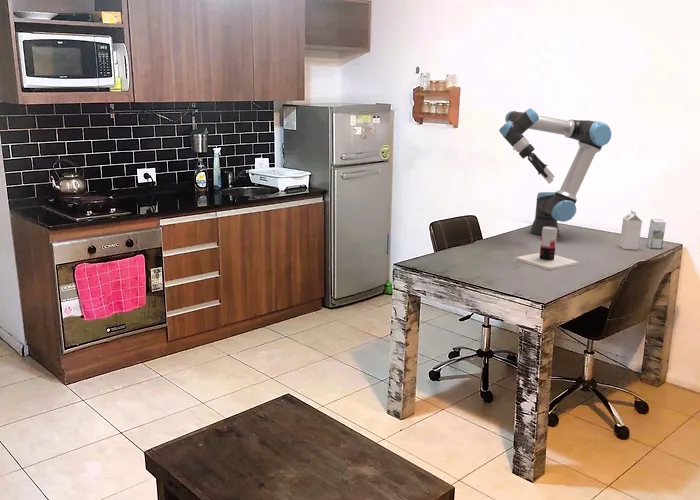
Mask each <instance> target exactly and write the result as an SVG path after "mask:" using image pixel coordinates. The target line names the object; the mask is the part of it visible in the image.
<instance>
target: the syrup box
mask: <svg viewBox="0 0 700 500" xmlns="http://www.w3.org/2000/svg"><path fill="white" fill-rule="evenodd" d="M666 224H667V222H666V220H664V219H662V218H661V219H660V218H657V219H656V218H650V221H649V228H648V234H647V242H646V247H648V248H650V249H657V250H658V249H660V250H662V249H663V243H664V236H665V230H666Z"/></svg>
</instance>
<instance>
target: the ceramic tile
mask: <svg viewBox="0 0 700 500" xmlns="http://www.w3.org/2000/svg"><path fill="white" fill-rule="evenodd" d="M539 257H540V252H534V253H530V254H525V255H521V256H520V255H519V256H516V257H515V261H518V262H522V263H526V264H527V265H532V266H534V267H538V268H541V269H544V270H547V271H554V270H558V269H563V268H568V267H572V266H577V265H579V261H578V260H574V259H570V258H567V257H564V256H560V255H557V254H555V255H554V260H553V261H544V260H541V259H540V258H539Z"/></svg>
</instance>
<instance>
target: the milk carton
mask: <svg viewBox="0 0 700 500" xmlns="http://www.w3.org/2000/svg"><path fill="white" fill-rule="evenodd" d="M642 223H643V220H642V219H641V218H639V216H637V212H636V211H633V210H632V209H631V210H630V212H629V213H627V214H626V215H625V216H623V218H622V224H621V229H620V230H621V233H620V240H619V247H620V248H621V249H623V250H632V251H633V250H639V245H640V239H641V230H642Z"/></svg>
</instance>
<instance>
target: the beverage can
mask: <svg viewBox="0 0 700 500" xmlns="http://www.w3.org/2000/svg"><path fill="white" fill-rule="evenodd" d="M557 236H558V235H557V228H555V227H543V229H542V236H541V241H540V251H539V253H540V257H539V258H540V259H541V260H544V261H553V260H554V255H556V254H555V253H556V247H557V246H556V244H557Z"/></svg>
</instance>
